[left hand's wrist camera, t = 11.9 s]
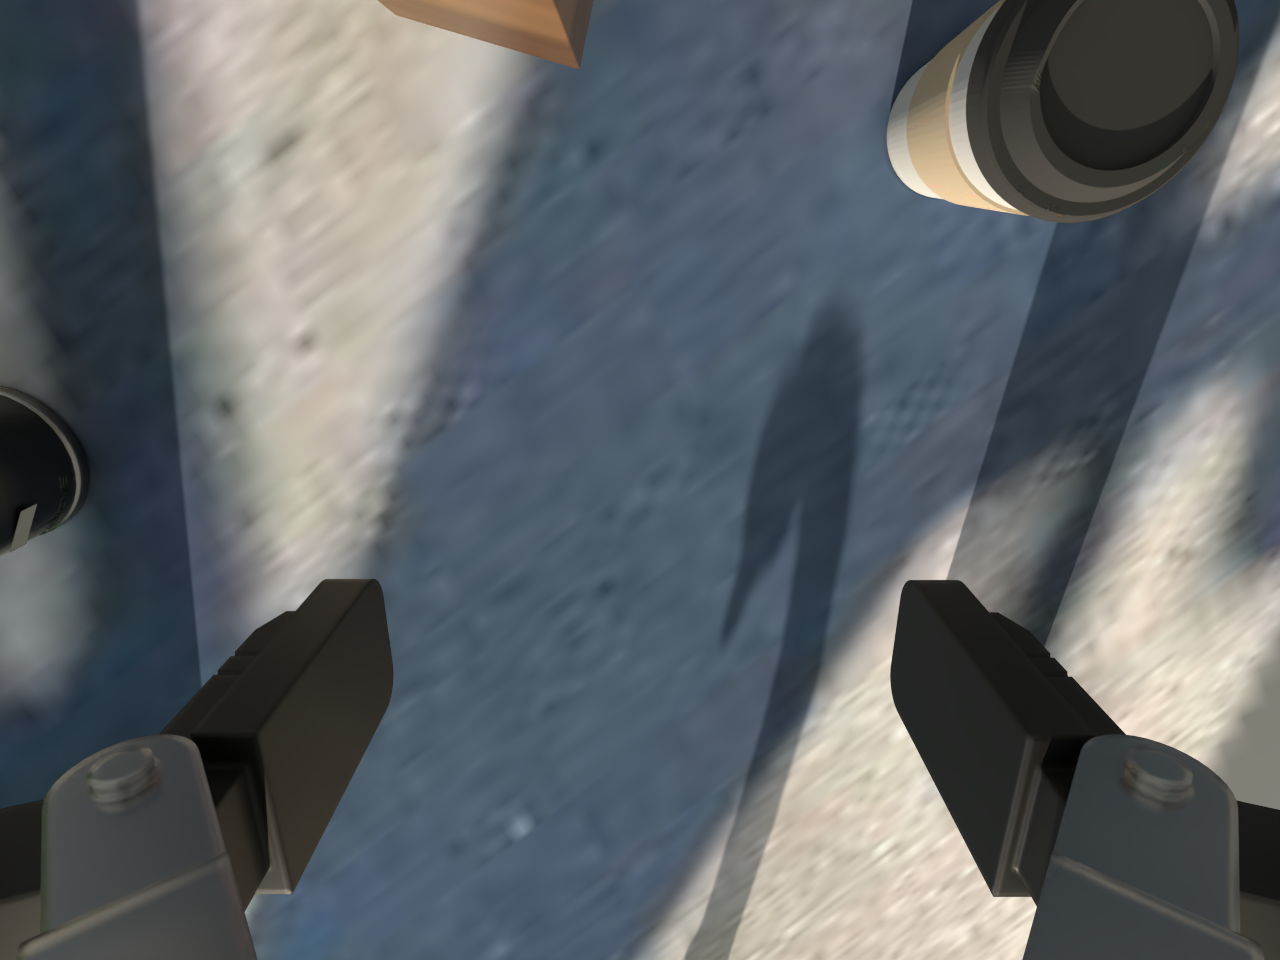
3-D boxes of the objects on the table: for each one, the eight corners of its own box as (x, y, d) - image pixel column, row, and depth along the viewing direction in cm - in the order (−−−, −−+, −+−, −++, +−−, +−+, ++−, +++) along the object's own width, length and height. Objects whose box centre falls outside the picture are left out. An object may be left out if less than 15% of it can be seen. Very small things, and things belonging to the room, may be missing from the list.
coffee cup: (1077, 86, 37) (1346, 7, 23) (970, 251, 40) (1152, 271, 26) (931, -11, 36) (1123, -158, 21) (831, 167, 38) (942, 140, 24)
